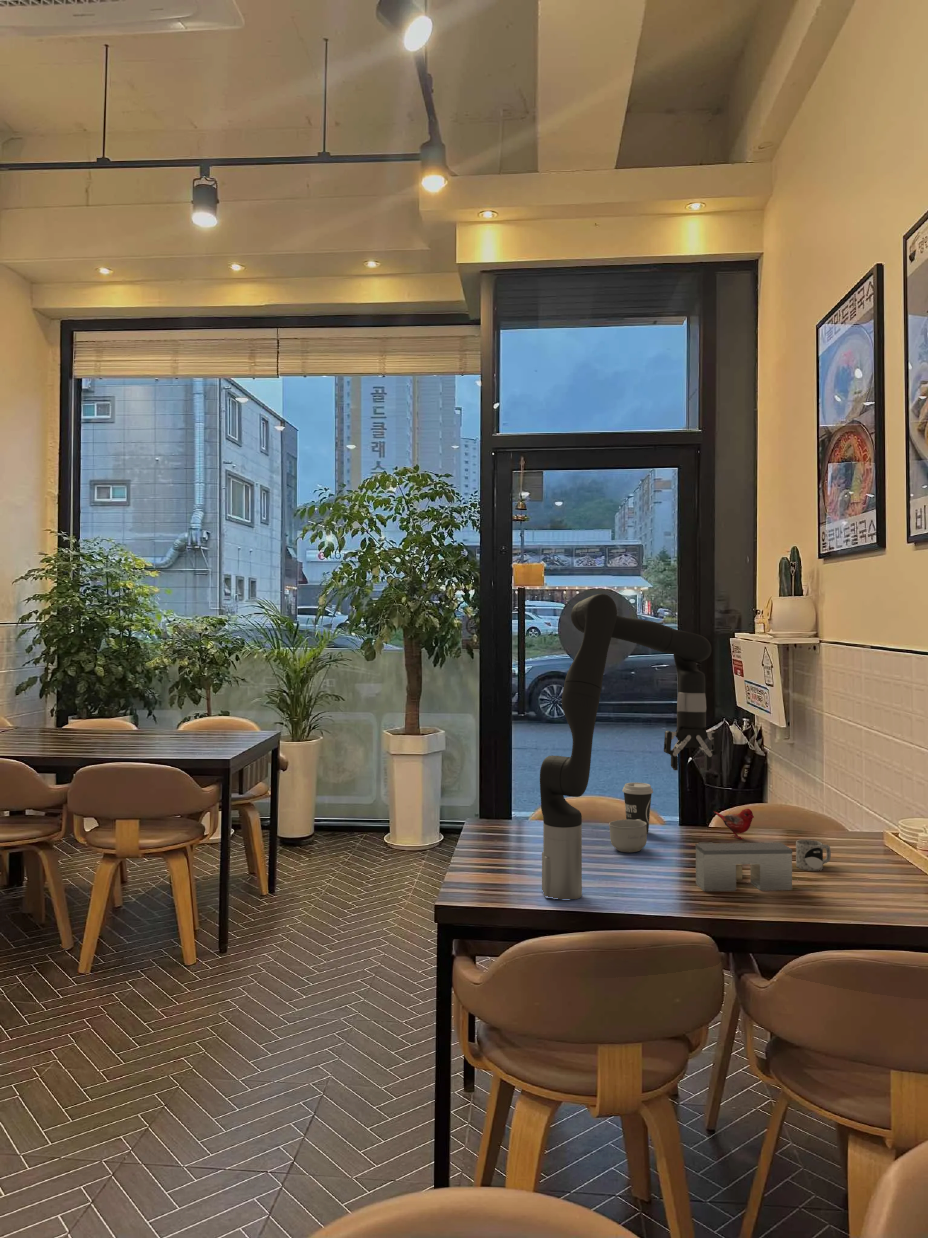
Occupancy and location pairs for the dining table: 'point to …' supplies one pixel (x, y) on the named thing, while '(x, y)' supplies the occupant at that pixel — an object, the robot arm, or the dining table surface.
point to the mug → (811, 855)
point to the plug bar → (738, 866)
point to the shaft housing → (764, 859)
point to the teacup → (628, 835)
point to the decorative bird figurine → (738, 821)
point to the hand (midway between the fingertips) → (690, 770)
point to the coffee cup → (638, 801)
